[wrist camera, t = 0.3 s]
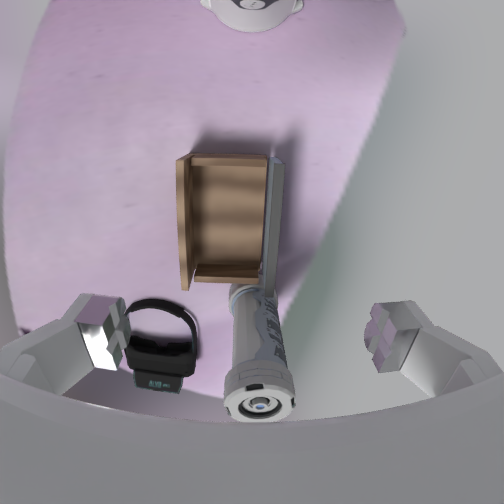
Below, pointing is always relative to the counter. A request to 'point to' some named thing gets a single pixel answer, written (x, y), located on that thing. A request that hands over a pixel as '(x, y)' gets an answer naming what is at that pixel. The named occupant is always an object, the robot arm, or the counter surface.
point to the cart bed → (220, 217)
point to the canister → (257, 358)
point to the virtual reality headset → (161, 354)
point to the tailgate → (272, 224)
